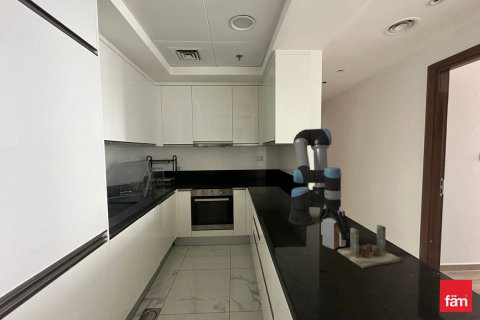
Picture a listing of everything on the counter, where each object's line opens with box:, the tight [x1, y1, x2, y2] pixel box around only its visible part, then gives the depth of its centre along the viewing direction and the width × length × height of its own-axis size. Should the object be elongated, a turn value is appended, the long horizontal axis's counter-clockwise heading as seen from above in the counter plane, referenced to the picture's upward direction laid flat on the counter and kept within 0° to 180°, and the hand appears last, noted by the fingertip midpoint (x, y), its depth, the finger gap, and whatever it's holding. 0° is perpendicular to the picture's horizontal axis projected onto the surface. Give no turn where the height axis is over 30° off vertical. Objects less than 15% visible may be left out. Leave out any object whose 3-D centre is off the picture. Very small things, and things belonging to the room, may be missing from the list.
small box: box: [322, 216, 341, 250], centre depth 98 cm, size 8×6×13 cm
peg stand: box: [337, 224, 402, 269], centre depth 87 cm, size 14×20×13 cm
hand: (332, 239), depth 98 cm, fingers open, 13 cm apart
